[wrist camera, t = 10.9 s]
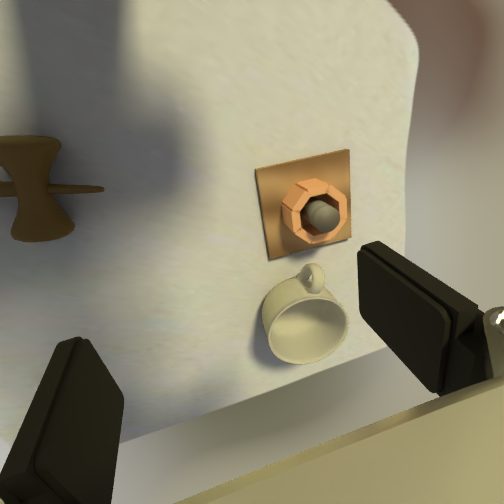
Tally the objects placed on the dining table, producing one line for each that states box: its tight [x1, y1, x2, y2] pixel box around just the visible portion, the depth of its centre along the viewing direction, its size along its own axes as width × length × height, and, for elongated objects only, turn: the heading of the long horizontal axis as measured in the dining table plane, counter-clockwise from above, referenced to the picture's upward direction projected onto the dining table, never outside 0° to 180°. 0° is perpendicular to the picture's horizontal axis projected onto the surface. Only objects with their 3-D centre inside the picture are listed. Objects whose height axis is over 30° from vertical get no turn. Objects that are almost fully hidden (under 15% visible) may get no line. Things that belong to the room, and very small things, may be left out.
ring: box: [281, 178, 347, 244], centre depth 38 cm, size 7×7×4 cm
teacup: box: [262, 263, 349, 365], centre depth 42 cm, size 14×11×8 cm
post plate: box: [255, 149, 351, 259], centre depth 38 cm, size 12×12×6 cm
